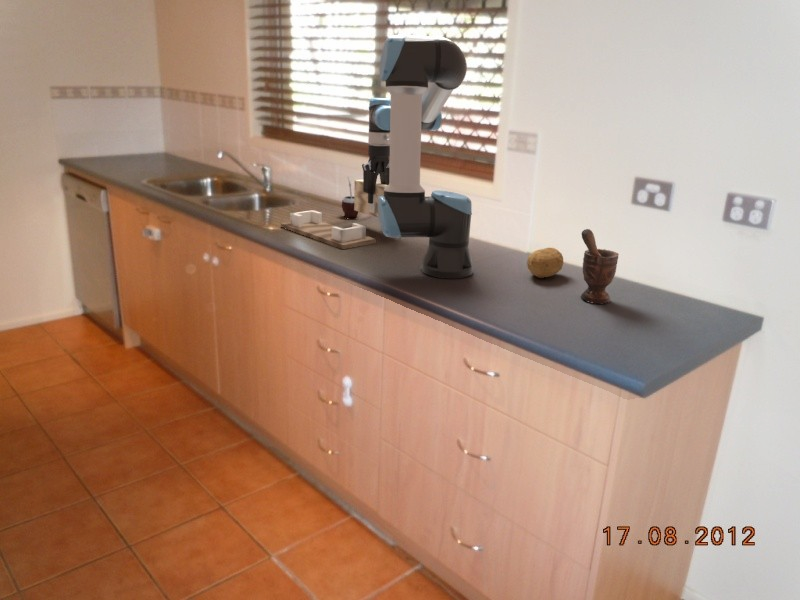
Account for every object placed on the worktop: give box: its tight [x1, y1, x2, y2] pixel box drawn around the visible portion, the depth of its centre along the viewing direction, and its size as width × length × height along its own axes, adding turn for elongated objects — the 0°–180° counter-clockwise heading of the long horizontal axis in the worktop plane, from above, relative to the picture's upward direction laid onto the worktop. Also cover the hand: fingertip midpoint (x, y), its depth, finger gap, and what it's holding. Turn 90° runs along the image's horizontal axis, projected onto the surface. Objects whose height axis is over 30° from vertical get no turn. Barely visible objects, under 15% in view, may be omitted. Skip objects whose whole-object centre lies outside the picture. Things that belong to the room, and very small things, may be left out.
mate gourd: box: [341, 176, 359, 220], centre depth 257 cm, size 8×8×15 cm
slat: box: [353, 179, 388, 219], centre depth 235 cm, size 24×4×11 cm, turn 37°
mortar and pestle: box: [580, 228, 619, 304], centre depth 173 cm, size 12×9×20 cm
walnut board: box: [280, 221, 377, 250], centre depth 232 cm, size 36×14×2 cm, turn 43°
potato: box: [526, 247, 564, 279], centre depth 195 cm, size 10×14×8 cm
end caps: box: [289, 209, 367, 242], centre depth 231 cm, size 30×10×4 cm, turn 43°
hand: (377, 211), depth 236 cm, fingers closed on slat, 4 cm apart
